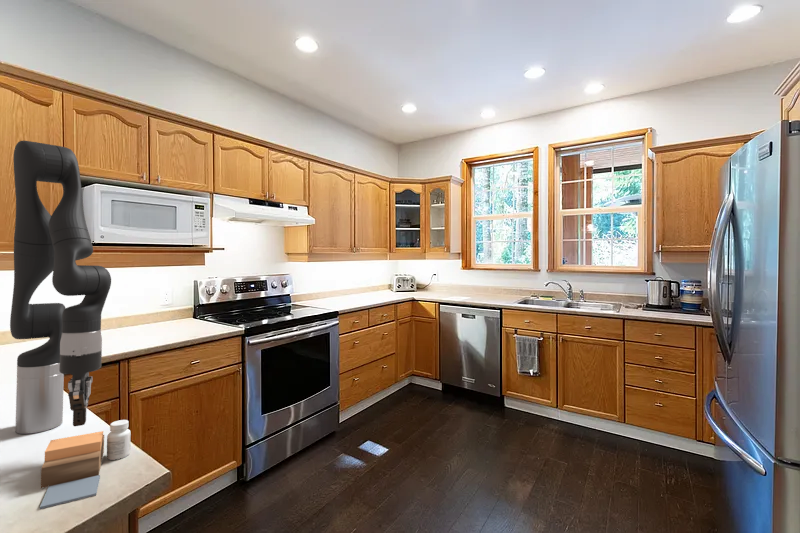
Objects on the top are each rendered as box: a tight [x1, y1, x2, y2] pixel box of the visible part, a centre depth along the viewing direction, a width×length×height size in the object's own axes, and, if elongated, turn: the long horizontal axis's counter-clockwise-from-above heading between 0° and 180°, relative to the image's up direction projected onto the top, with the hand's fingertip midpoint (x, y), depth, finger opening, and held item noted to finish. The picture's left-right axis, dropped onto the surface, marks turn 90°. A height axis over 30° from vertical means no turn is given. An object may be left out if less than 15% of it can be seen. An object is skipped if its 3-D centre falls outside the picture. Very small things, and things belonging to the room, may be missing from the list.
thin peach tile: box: [44, 430, 104, 462], centre depth 82 cm, size 6×9×2 cm, turn 124°
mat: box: [39, 474, 101, 510], centre depth 74 cm, size 8×8×1 cm
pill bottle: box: [106, 419, 132, 461], centre depth 88 cm, size 4×4×8 cm
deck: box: [40, 434, 105, 489], centre depth 82 cm, size 12×9×4 cm
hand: (79, 424), depth 88 cm, fingers closed
